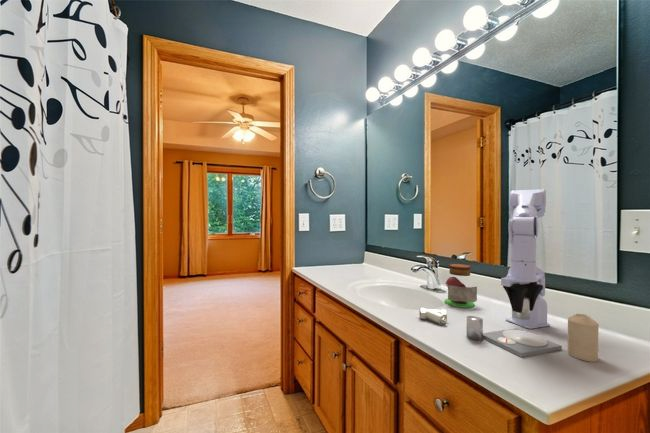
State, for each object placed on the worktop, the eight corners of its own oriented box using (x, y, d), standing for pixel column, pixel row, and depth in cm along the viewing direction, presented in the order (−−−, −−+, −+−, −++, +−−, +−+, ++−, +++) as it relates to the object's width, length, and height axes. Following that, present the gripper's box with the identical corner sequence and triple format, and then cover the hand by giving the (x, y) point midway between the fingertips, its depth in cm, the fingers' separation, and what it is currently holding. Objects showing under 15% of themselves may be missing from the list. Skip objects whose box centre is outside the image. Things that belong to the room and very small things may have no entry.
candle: (601, 364, 65) (601, 321, 65) (570, 357, 68) (570, 316, 68) (594, 354, 70) (595, 314, 70) (565, 349, 73) (566, 310, 73)
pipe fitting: (448, 328, 88) (444, 319, 94) (449, 316, 87) (444, 307, 94) (421, 325, 89) (419, 316, 96) (422, 313, 89) (419, 305, 95)
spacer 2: (516, 314, 80) (516, 294, 80) (532, 318, 77) (532, 298, 77) (509, 316, 78) (508, 296, 78) (525, 321, 75) (525, 300, 75)
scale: (516, 331, 84) (516, 326, 84) (561, 349, 73) (561, 344, 73) (480, 337, 80) (480, 332, 80) (521, 357, 68) (521, 351, 68)
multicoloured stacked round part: (435, 299, 116) (435, 263, 116) (464, 299, 117) (464, 263, 118) (451, 309, 104) (451, 268, 104) (483, 308, 106) (483, 268, 106)
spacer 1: (474, 334, 81) (474, 315, 82) (486, 340, 78) (486, 320, 78) (463, 336, 80) (463, 316, 80) (474, 342, 76) (474, 321, 76)
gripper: (525, 257, 84) (524, 303, 84) (490, 259, 78) (490, 309, 78) (552, 261, 77) (551, 311, 77) (516, 263, 72) (515, 317, 72)
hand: (522, 310), depth 77 cm, fingers closed on spacer 2, 4 cm apart
